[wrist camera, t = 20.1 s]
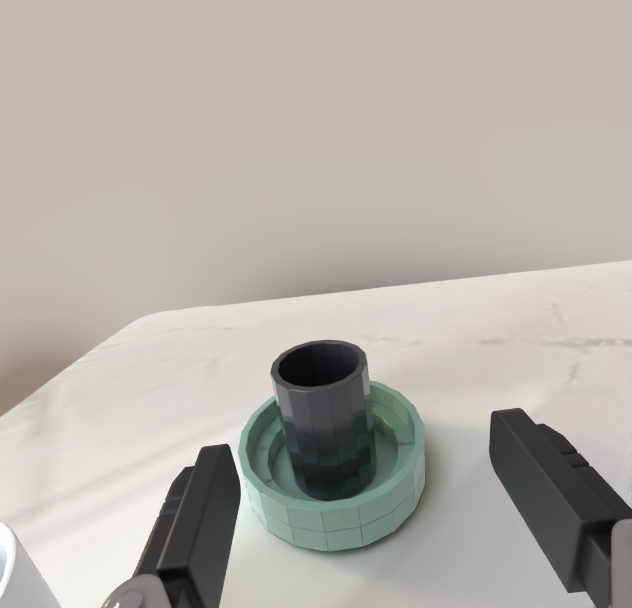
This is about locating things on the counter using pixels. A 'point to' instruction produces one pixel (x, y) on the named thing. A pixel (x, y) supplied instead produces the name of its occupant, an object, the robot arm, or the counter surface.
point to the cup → (326, 417)
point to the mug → (21, 576)
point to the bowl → (347, 514)
